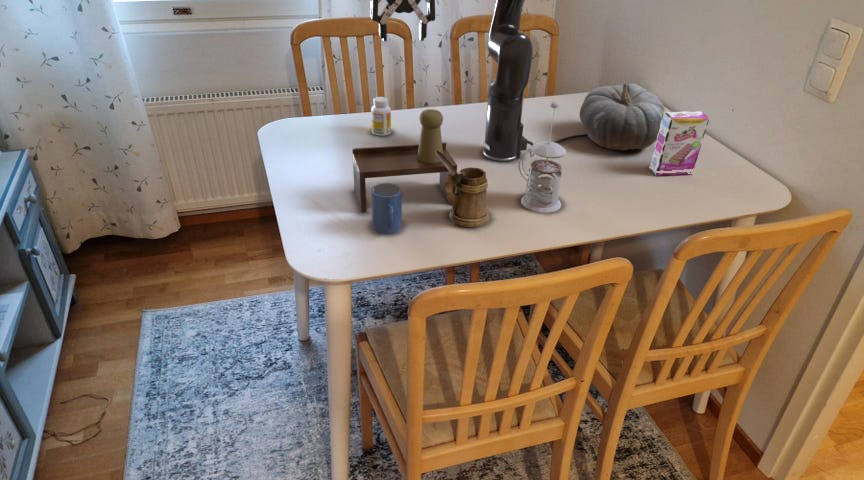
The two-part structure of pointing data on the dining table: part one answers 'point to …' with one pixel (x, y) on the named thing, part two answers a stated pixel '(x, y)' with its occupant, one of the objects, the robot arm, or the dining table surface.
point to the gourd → (622, 116)
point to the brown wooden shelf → (393, 166)
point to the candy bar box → (678, 141)
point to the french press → (543, 195)
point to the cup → (386, 208)
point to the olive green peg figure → (430, 136)
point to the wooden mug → (466, 194)
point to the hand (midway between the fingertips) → (403, 40)
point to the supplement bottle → (381, 117)
